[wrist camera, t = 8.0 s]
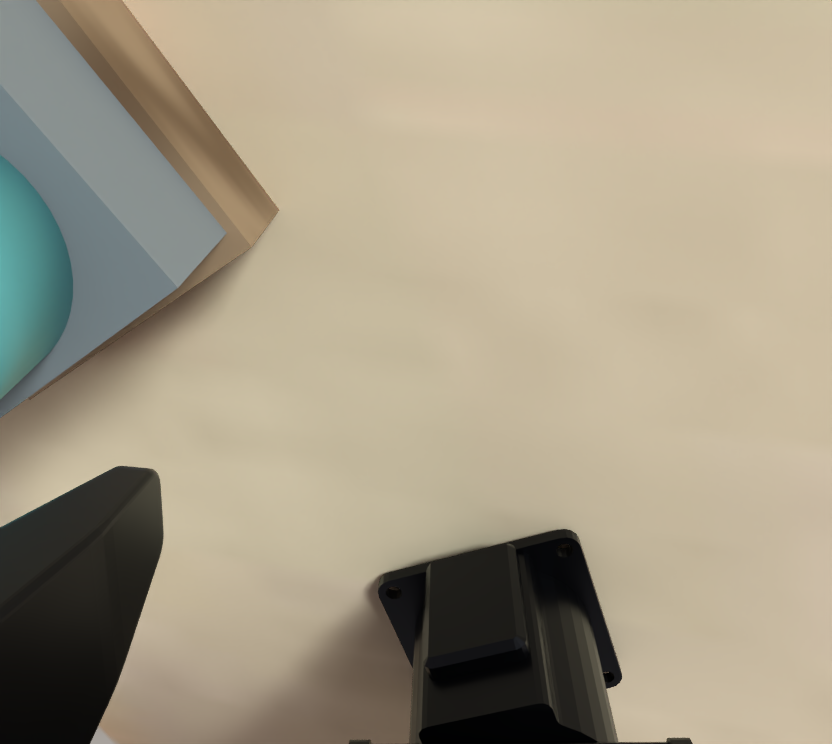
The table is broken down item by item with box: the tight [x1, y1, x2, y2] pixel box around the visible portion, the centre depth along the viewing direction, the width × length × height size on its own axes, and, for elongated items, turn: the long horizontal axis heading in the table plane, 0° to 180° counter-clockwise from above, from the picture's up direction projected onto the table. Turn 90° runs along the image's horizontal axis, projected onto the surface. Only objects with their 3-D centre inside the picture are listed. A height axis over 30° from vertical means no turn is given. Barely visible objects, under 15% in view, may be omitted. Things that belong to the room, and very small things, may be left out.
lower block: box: [28, 0, 279, 399], centre depth 19 cm, size 7×7×4 cm
